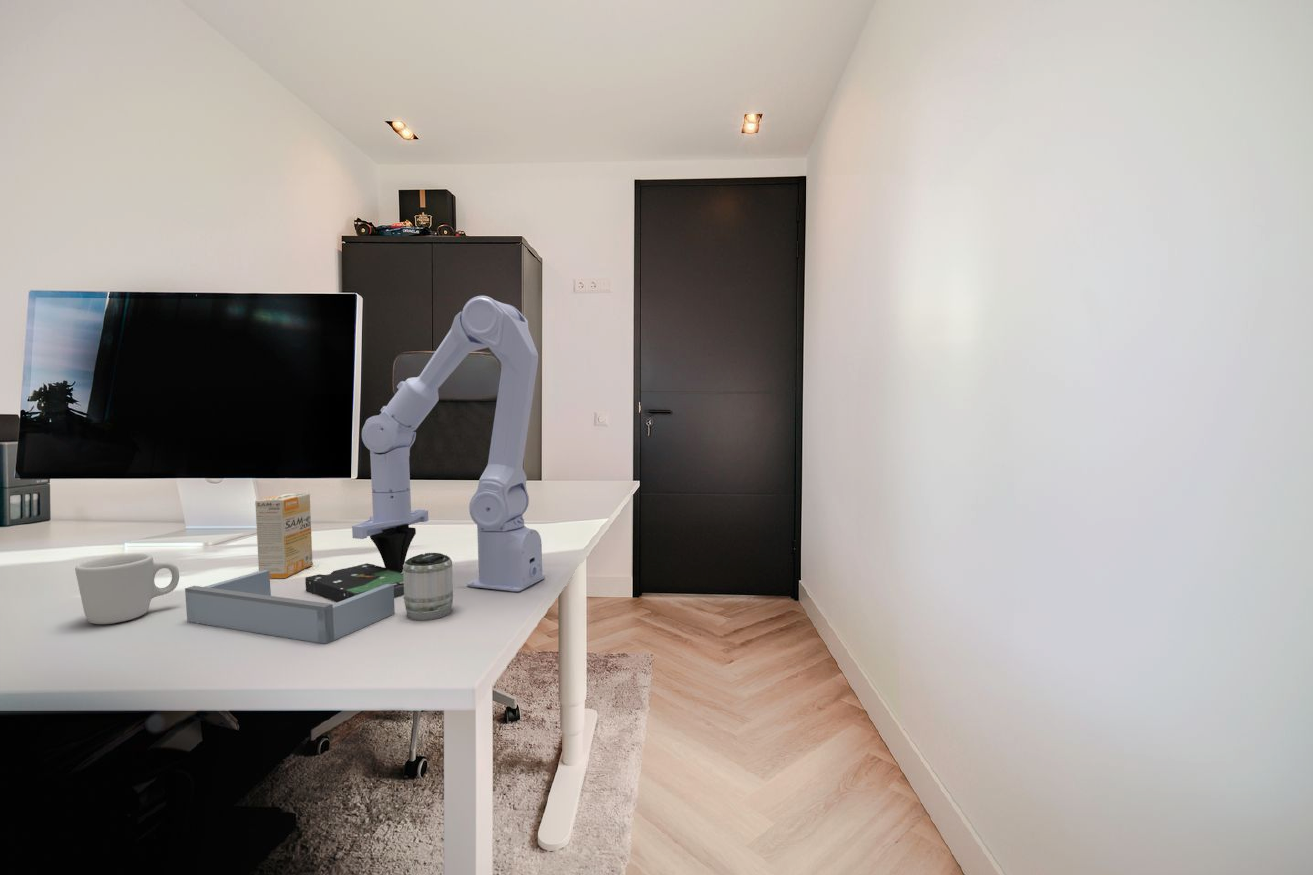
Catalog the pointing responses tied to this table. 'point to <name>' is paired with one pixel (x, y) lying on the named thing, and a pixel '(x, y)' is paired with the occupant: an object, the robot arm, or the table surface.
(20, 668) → the table surface
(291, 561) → the supplement box
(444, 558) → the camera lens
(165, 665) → the table surface
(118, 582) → the cup
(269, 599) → the frame
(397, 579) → the disk drive
